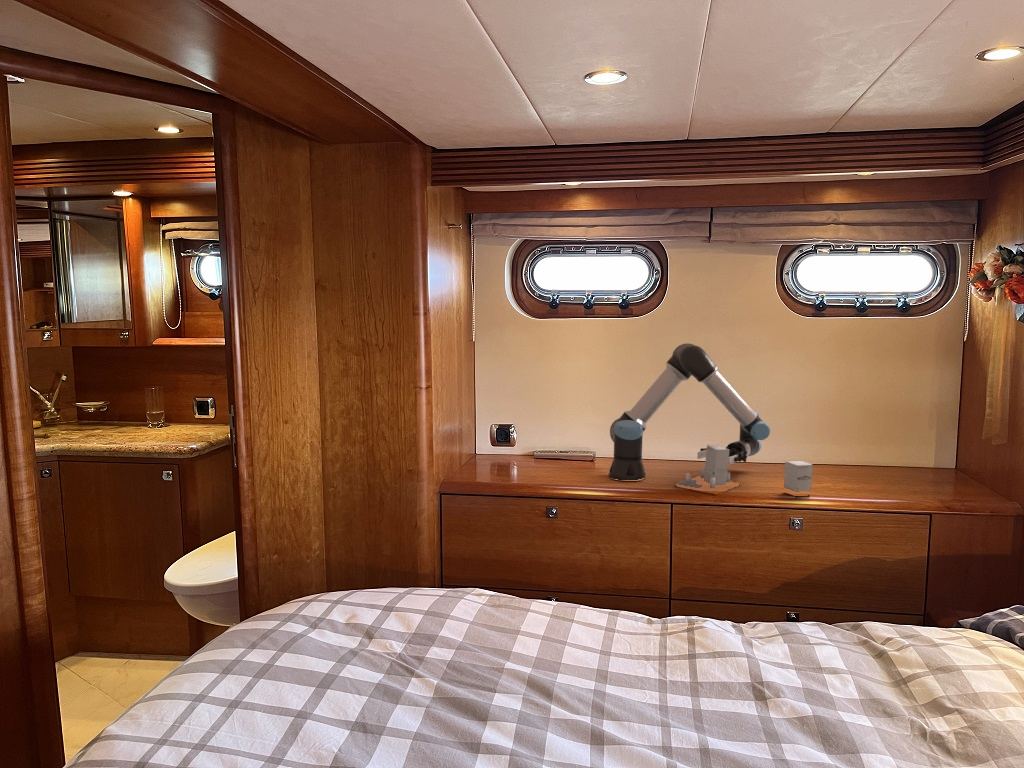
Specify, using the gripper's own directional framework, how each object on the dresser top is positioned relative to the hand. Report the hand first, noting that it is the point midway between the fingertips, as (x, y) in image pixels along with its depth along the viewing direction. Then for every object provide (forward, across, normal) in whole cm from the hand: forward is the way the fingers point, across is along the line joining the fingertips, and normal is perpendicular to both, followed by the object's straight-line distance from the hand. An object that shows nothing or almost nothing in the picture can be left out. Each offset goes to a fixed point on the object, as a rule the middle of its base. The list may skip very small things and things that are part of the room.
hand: (713, 458), depth 299 cm
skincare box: (+1, -2, -10) cm, 10 cm away
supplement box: (-10, -30, -12) cm, 34 cm away
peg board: (+3, +1, -11) cm, 12 cm away
